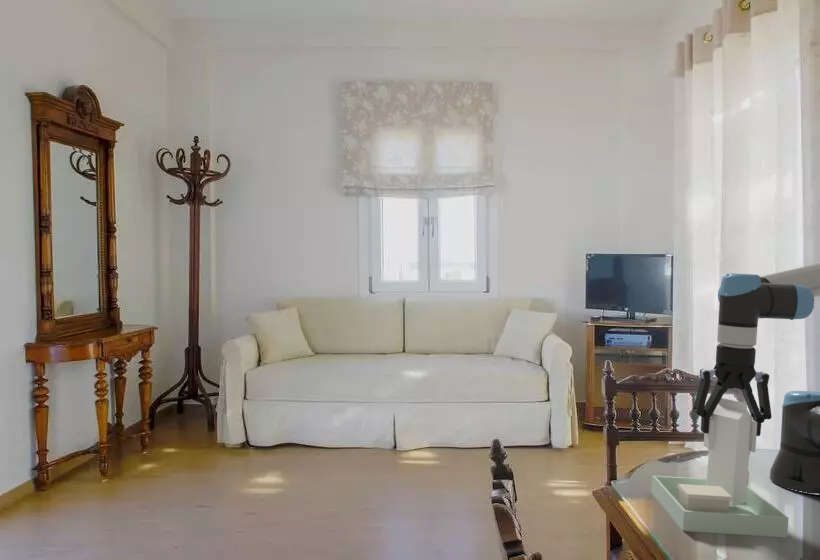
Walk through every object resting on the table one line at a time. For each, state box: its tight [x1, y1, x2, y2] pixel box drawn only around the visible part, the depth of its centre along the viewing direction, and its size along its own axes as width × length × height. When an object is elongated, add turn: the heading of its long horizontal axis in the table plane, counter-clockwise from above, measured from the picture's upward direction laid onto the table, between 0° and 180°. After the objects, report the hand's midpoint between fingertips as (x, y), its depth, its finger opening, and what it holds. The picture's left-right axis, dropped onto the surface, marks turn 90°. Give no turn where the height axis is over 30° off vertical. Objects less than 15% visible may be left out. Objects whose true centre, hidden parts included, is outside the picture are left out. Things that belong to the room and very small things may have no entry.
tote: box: [650, 474, 789, 539], centre depth 136 cm, size 20×20×4 cm
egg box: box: [678, 484, 732, 513], centre depth 131 cm, size 9×6×7 cm, turn 86°
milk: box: [706, 397, 753, 507], centre depth 139 cm, size 6×6×22 cm
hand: (729, 448), depth 139 cm, fingers closed on milk, 8 cm apart
